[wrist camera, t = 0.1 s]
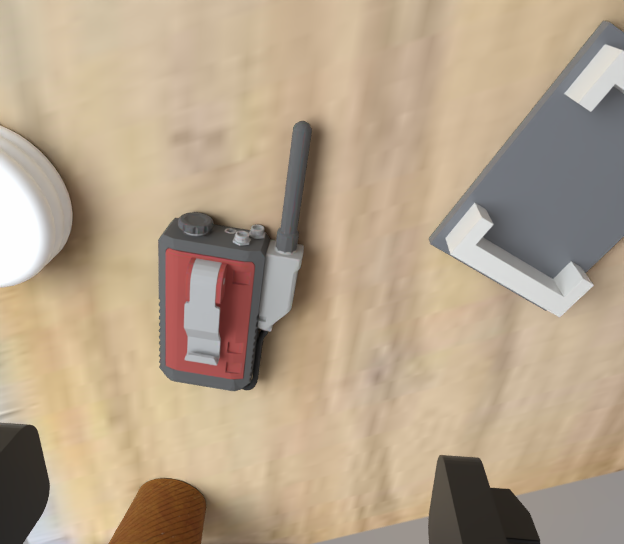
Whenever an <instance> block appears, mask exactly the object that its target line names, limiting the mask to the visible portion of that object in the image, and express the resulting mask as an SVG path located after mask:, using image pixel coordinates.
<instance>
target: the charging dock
mask: <svg viewBox="0 0 624 544" xmlns="http://www.w3.org/2000/svg"><path fill="white" fill-rule="evenodd" d="M623 236H624V33H623V32H622V31H621V30H619V29H618V28H617V27H615V26H614V25H613V24H611V23H610V22H606V21H603V22H602V23H601V24H600V25H599V27H598V28H597V29H596V30H595V32H594V33H593V34H592V35H591V37H590V38H589V39H588V40H587V42H586V43H585V44H584V45H583V47H582V48H581V49H580V50H579V52H578V53H577V54H576V55H575V57H574V58H573V59H572V60H571V62H570V63H569V64H568V65H567V67H566V68H565V69H564V70H563V72H562V73H561V74H560V75H559V76H558V78H557V79H556V80H555V81H554V83H553V84H552V85H551V86H550V88H549V89H548V90H547V91H546V93H545V94H544V95H543V96H542V98H541V99H540V100H539V101H538V103H537V104H536V105H535V106H534V108H533V109H532V110H531V111H530V113H529V114H528V115H527V116H526V118H525V119H524V120H523V121H522V123H521V124H520V125H519V126H518V128H517V129H516V130H515V131H514V133H513V134H512V135H511V136H510V138H509V139H508V140H507V141H506V143H505V144H504V145H503V146H502V148H501V149H500V150H499V151H498V152H497V154H496V155H495V156H494V157H493V159H492V160H491V161H490V162H489V164H488V165H487V166H486V167H485V169H484V170H483V171H482V172H481V174H480V175H479V176H478V177H477V179H476V180H475V181H474V182H473V184H472V185H471V186H470V187H469V189H468V190H467V191H466V192H465V194H464V195H463V196H462V197H461V199H460V200H459V201H458V202H457V204H456V205H455V206H454V207H453V209H452V210H451V211H450V212H449V214H448V215H447V216H446V217H445V219H444V220H443V221H442V222H441V224H440V225H439V226H438V227H437V229H436V230H435V231H434V232H433V233H432V235H431V236H430V237H429V241H430V244H431V245H433V246H434V247H436V248H438V249H440V250H441V251H443V252H445V253H447V254H448V255H450V256H452V257H454V258H455V259H457V260H459V261H460V262H462V263H464V264H466V265H467V266H469V267H471V268H473V269H474V270H476V271H478V272H480V273H481V274H483V275H485V276H486V277H488V278H490V279H492V280H493V281H495V282H497V283H499V284H500V285H502V286H504V287H506V288H507V289H509V290H511V291H512V292H514V293H516V294H518V295H519V296H521V297H523V298H525V299H526V300H528V301H530V302H532V303H533V304H535V305H537V306H538V307H540V308H542V309H544V310H545V311H547V310H548V311H549V312H551V313H553V314H555V315H556V316H558V317H561V316H562V315H563V314H564V313H565V312H566V311H567V310H568V309H569V308H570V307H571V306H572V305H573V304H574V303H576V302H577V301H578V300H579V299H580V298H581V297H582V296H583V295H584V294H585V293H586V292H587V291H588V290H589V289H590V288H591V287H593V286H594V284H593V283H592V282H591V280H590V279H589V277H588V276H587V275H586V272H587V271H588V270H589V269H590V268H591V267H592V266H593V265H594V264H595V263H596V262H598V261H599V260H600V259H601V258H602V257H603V256H604V255H605V254H606V253H607V252H608V251H609V250H610V249H611V248H612V247H613V246H614V245H615V244H616V243H617V242H618V241H619V240H620V239H621V238H622V237H623Z"/></svg>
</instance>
